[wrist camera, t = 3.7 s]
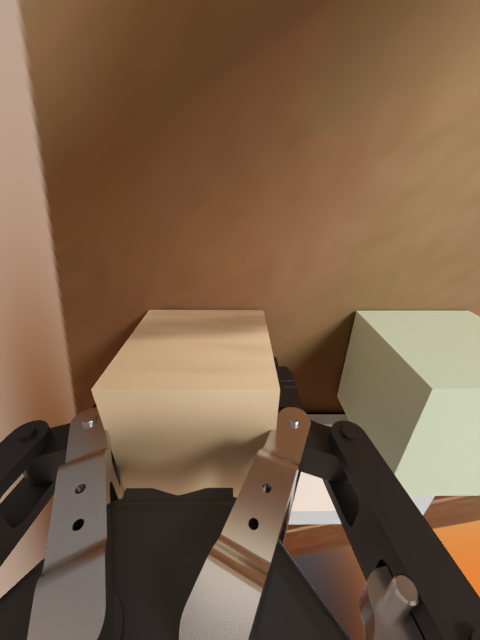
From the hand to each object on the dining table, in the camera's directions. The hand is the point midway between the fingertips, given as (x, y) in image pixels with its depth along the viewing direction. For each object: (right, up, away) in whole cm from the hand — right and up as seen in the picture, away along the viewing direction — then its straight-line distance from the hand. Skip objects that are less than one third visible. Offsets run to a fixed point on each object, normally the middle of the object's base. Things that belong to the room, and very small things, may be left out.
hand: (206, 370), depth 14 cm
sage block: (+11, +1, +1) cm, 11 cm away
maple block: (0, +1, +1) cm, 1 cm away
